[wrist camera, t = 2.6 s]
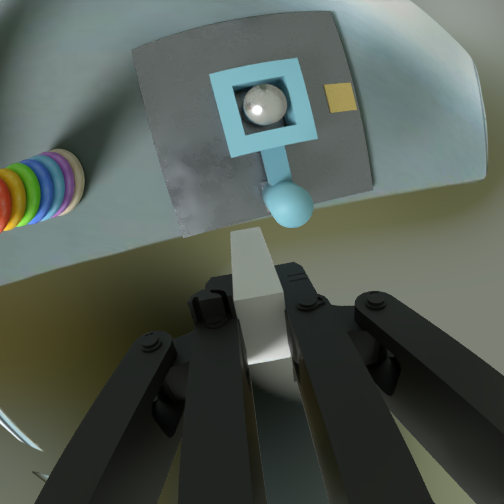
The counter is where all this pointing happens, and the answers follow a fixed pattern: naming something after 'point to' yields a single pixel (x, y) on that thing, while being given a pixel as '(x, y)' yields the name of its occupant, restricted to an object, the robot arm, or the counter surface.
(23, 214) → the stacking toy
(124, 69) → the counter surface
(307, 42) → the post plate
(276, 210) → the blue handled square frame
